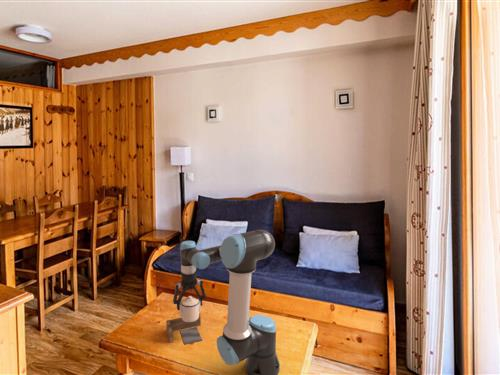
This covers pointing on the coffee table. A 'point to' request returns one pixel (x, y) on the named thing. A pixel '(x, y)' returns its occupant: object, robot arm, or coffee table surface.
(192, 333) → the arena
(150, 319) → the coffee table surface
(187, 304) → the teacup with lid
